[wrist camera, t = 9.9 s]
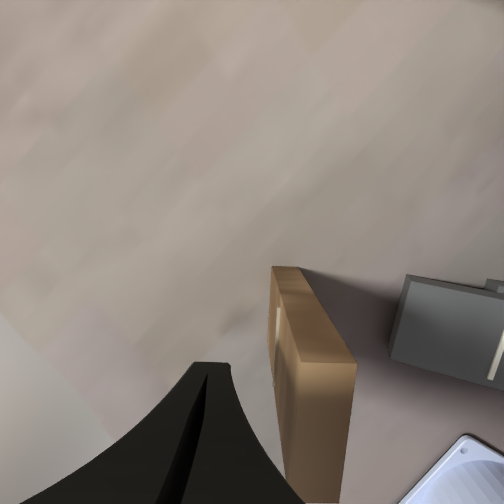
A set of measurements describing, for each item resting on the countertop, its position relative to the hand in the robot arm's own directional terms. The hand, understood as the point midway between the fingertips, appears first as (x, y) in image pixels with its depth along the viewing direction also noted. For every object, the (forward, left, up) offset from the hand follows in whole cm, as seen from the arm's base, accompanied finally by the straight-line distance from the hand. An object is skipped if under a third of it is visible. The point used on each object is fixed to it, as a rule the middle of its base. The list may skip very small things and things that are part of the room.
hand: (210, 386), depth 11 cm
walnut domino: (+2, -3, -8) cm, 9 cm away
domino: (+5, -9, -7) cm, 13 cm away
